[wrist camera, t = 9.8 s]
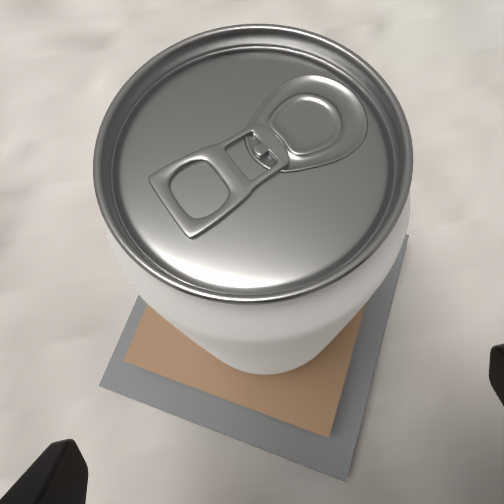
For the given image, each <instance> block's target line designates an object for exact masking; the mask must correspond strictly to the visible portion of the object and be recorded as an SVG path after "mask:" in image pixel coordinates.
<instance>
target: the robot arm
mask: <svg viewBox="0 0 504 504" xmlns="http://www.w3.org/2000/svg"><path fill="white" fill-rule="evenodd" d="M489 380H490V383H491V385H492V387H493V389H494V391H495V392H496V394H497V396H498V397H499V399H500V401H501V402H502V404H503V406H504V344H500V345H495V346H493V347H492V349H491V352H490V365H489ZM87 483H88V468H87V464H86V462H85V460H84V458H83V456H82V454H81V452H80V450H79V448H78V446H77V444H76V443H75V441H74V440H72V439H66V440H61V441H57V442H54V443H52V444H50V445H49V446H48V447H47V448H46V450H45V451H44V452H43V453H42V454H41V455H40V456H39V457H38V458H37V460H36V461H35V462H34V463H33V464H32V465H31V466H30V467H29V468H28V469H27V471H26V472H25V473H24V474H23V475H22V476H21V477H20V478H19V479H18V480H17V482H16V483H15V484H14V485H13V486H12V487H11V488H10V489H9V490H8V492H7V493H6V494H5V495H4V496H3V497H2V498H1V499H0V504H85V503H86V493H87Z"/></svg>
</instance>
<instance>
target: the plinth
mask: <svg viewBox="0 0 504 504" xmlns="http://www.w3.org/2000/svg"><path fill="white" fill-rule="evenodd" d="M408 237H409V235H407V234H405V237H404V240H403V243H402V246H401V248H400V251H399V253H398V255H397V258H396V260H395V262H394V264H393V266H392V268H391V269H390V271H389V273H388V274H387V276H386V277H385V279H384V280H383V282H382V283H381V284H380V286H379V287H378V288H377V290H376V291H375V292H374V294H373V295H372V296H371V297H370V299H369V300H368V301H367V302H366V303H365V304H364V306H363V307H362V308H361V309H360V310H359V311H358V312H357V313H356V315H355V316H354V317H353V318H352V319H351V320H350V321H349V322H348V323H347V325H346V326H345V327H344V328H343V329H342V330H341V331H340V332H339V333H338V334H337V335H336V337H335V338H334V339H333V340H332V341H331V342H330V343H329V344H328V345H327V346H326V347H325V348H324V349H323V350H322V351H321V352H320V353H319V354H318V355H317V356H315V357H314V358H313V359H312V360H310V361H309V362H307V363H306V364H304V365H302V366H300V367H298V368H296V369H293V370H291V371H288V372H284V373H279V374H271V375H260V374H252V373H247V372H244V371H240V370H238V369H235V368H233V367H231V366H229V365H227V364H225V363H224V362H222V361H221V360H219V359H218V358H216V357H215V356H213V355H212V354H210V353H209V352H208V351H206V350H205V349H204V348H202V347H201V346H199V345H198V344H197V343H195V342H194V341H193V340H191V339H190V338H189V337H187V336H186V335H185V334H183V333H182V332H181V331H179V330H178V329H177V328H176V327H174V326H173V325H172V324H170V323H169V322H168V321H167V320H165V319H164V318H163V317H162V316H160V315H159V314H158V313H157V312H156V311H155V310H154V309H153V308H151V307H150V306H149V305H148V304H147V303H146V302H145V301H144V300H143V299H142V298H141V297H140V296H138V298H137V300H136V303H135V305H134V307H133V309H132V312H131V314H130V316H129V318H128V321H127V323H126V325H125V328H124V330H123V332H122V334H121V337H120V339H119V341H118V343H117V346H116V348H115V350H114V353H113V355H112V357H111V359H110V362H109V364H108V366H107V368H106V371H105V373H104V375H103V378H102V380H101V382H100V384H99V386H101V387H103V388H106V389H108V390H111V391H114V392H116V393H119V394H121V395H124V396H126V397H129V398H131V399H134V400H137V401H139V402H142V403H144V404H147V405H149V406H152V407H155V408H157V409H160V410H162V411H165V412H167V413H170V414H173V415H175V416H178V417H180V418H183V419H185V420H188V421H191V422H193V423H196V424H198V425H201V426H203V427H206V428H209V429H211V430H214V431H216V432H219V433H221V434H224V435H227V436H229V437H232V438H234V439H237V440H239V441H242V442H245V443H247V444H250V445H252V446H255V447H257V448H260V449H263V450H265V451H268V452H270V453H273V454H275V455H278V456H281V457H283V458H286V459H288V460H291V461H293V462H296V463H299V464H301V465H304V466H306V467H309V468H311V469H314V470H317V471H319V472H322V473H324V474H327V475H329V476H332V477H335V478H337V479H340V480H342V481H345V482H346V481H347V477H348V473H349V469H350V465H351V461H352V457H353V453H354V449H355V445H356V441H357V437H358V433H359V429H360V426H361V422H362V418H363V414H364V410H365V406H366V402H367V398H368V394H369V390H370V386H371V382H372V378H373V374H374V370H375V367H376V363H377V359H378V355H379V351H380V347H381V343H382V339H383V335H384V331H385V327H386V323H387V319H388V315H389V312H390V308H391V304H392V300H393V296H394V292H395V288H396V284H397V280H398V276H399V272H400V268H401V264H402V260H403V256H404V253H405V249H406V245H407V241H408Z"/></svg>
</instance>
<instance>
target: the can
mask: <svg viewBox="0 0 504 504" xmlns="http://www.w3.org/2000/svg"><path fill="white" fill-rule="evenodd" d="M412 172H413V147H412V140H411V134H410V130H409V126H408V123H407V120H406V117H405V114H404V112H403V110H402V107H401V105H400V103H399V101H398V100H397V98H396V96H395V94H394V93H393V91H392V90H391V88H390V87H389V86H388V84H387V83H386V82H385V80H384V79H383V78H382V77H381V76H380V75H379V73H378V72H377V71H376V70H375V69H374V68H373V67H372V66H370V65H369V64H368V63H367V62H366V61H365V60H364V59H362V58H361V57H360V56H358V55H357V54H356V53H354V52H353V51H351V50H350V49H348V48H346V47H345V46H343V45H341V44H339V43H337V42H335V41H333V40H331V39H329V38H327V37H324V36H322V35H319V34H316V33H313V32H310V31H307V30H303V29H299V28H295V27H290V26H283V25H274V24H242V25H233V26H227V27H221V28H217V29H213V30H209V31H205V32H202V33H199V34H196V35H194V36H191V37H189V38H186V39H184V40H182V41H180V42H178V43H176V44H174V45H172V46H170V47H168V48H167V49H165V50H163V51H162V52H160V53H159V54H157V55H156V56H154V57H153V58H151V59H150V60H149V61H148V62H146V63H145V64H144V65H143V66H142V67H141V68H139V69H138V70H137V71H136V72H135V73H134V74H133V75H132V76H131V77H130V78H129V79H128V81H127V82H126V83H125V84H124V85H123V87H122V88H121V89H120V91H119V92H118V93H117V95H116V96H115V98H114V99H113V101H112V103H111V104H110V106H109V108H108V110H107V112H106V114H105V116H104V118H103V121H102V123H101V126H100V129H99V132H98V136H97V139H96V144H95V150H94V158H93V179H94V187H95V193H96V197H97V201H98V204H99V208H100V211H101V213H102V216H103V218H104V221H105V228H106V233H107V237H108V241H109V244H110V247H111V250H112V253H113V255H114V257H115V260H116V262H117V264H118V266H119V267H120V269H121V271H122V272H123V274H124V276H125V277H126V279H127V280H128V281H129V283H130V284H131V286H132V287H133V288H134V290H135V291H136V292H137V293H138V294H139V296H140V297H141V298H142V299H143V300H144V301H145V302H146V303H147V304H148V305H149V306H150V307H151V308H153V309H154V310H155V311H156V312H157V313H158V314H159V315H160V316H162V317H163V318H164V319H165V320H167V321H168V322H169V323H170V324H172V325H173V326H174V327H176V328H177V329H178V330H179V331H181V332H182V333H183V334H185V335H186V336H187V337H189V338H190V339H191V340H193V341H194V342H195V343H197V344H198V345H199V346H201V347H202V348H204V349H205V350H206V351H208V352H209V353H210V354H212V355H213V356H215V357H216V358H218V359H219V360H221V361H222V362H224V363H225V364H227V365H229V366H231V367H233V368H235V369H238V370H240V371H244V372H247V373H252V374H260V375H271V374H279V373H284V372H288V371H291V370H293V369H296V368H298V367H300V366H302V365H304V364H306V363H307V362H309V361H310V360H312V359H313V358H314V357H315V356H317V355H318V354H319V353H320V352H321V351H322V350H323V349H324V348H325V347H326V346H327V345H328V344H329V343H330V342H331V341H332V340H333V339H334V338H335V337H336V335H337V334H338V333H339V332H340V331H341V330H342V329H343V328H344V327H345V326H346V325H347V323H348V322H349V321H350V320H351V319H352V318H353V317H354V316H355V315H356V313H357V312H358V311H359V310H360V309H361V308H362V307H363V306H364V304H365V303H366V302H367V301H368V300H369V299H370V297H371V296H372V295H373V294H374V292H375V291H376V290H377V288H378V287H379V286H380V284H381V283H382V282H383V280H384V279H385V277H386V276H387V274H388V273H389V271H390V269H391V268H392V266H393V264H394V262H395V260H396V258H397V255H398V253H399V251H400V248H401V246H402V243H403V240H404V237H405V234H406V230H407V226H408V220H409V213H410V185H411V180H412Z"/></svg>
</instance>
